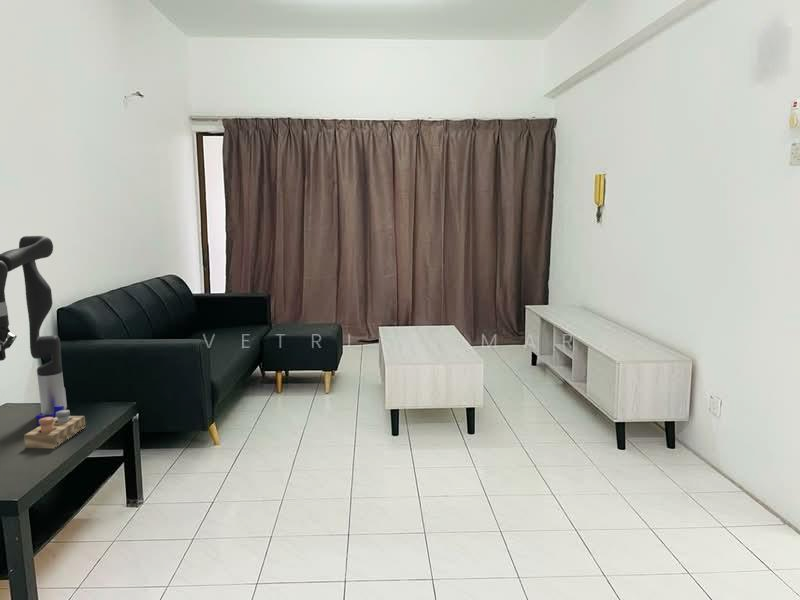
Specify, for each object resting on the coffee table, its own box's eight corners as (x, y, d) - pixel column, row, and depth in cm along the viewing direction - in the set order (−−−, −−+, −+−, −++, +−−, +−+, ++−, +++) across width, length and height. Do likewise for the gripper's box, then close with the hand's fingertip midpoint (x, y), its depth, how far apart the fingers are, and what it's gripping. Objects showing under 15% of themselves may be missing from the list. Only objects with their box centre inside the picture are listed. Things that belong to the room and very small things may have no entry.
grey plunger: (62, 428, 235) (60, 409, 234) (74, 428, 235) (72, 409, 233) (54, 433, 230) (52, 414, 229) (66, 433, 230) (64, 414, 229)
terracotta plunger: (46, 436, 225) (44, 416, 224) (58, 436, 225) (56, 416, 223) (37, 441, 220) (35, 421, 219) (50, 441, 220) (48, 421, 219)
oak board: (58, 427, 238) (57, 415, 237) (85, 428, 237) (84, 416, 236) (25, 448, 218) (24, 435, 217) (54, 448, 217) (53, 435, 217)
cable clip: (54, 419, 248) (53, 405, 247) (64, 419, 247) (63, 405, 246) (34, 430, 236) (32, 415, 235) (44, 430, 235) (43, 416, 234)
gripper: (19, 312, 222) (24, 357, 225) (-15, 312, 223) (-9, 357, 225) (5, 316, 215) (11, 362, 217) (-30, 316, 215) (-24, 362, 218)
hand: (1, 360), depth 221 cm, fingers closed
